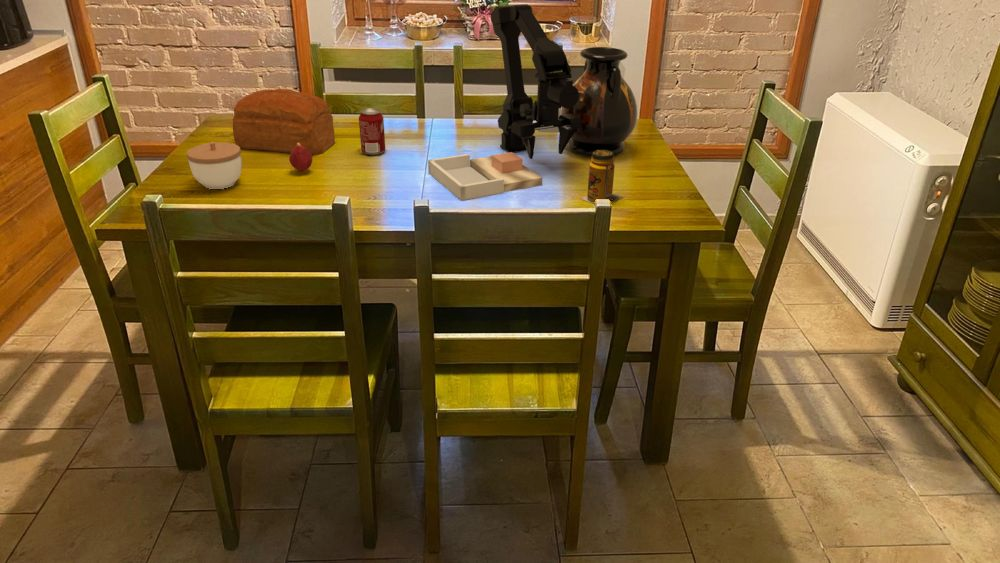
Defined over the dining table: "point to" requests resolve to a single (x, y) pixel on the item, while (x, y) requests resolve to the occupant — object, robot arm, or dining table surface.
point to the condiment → (601, 177)
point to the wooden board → (506, 174)
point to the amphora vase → (602, 104)
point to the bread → (283, 121)
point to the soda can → (372, 131)
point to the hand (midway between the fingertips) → (545, 156)
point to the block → (507, 162)
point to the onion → (300, 158)
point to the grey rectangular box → (551, 128)
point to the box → (463, 177)
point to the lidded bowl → (215, 164)
